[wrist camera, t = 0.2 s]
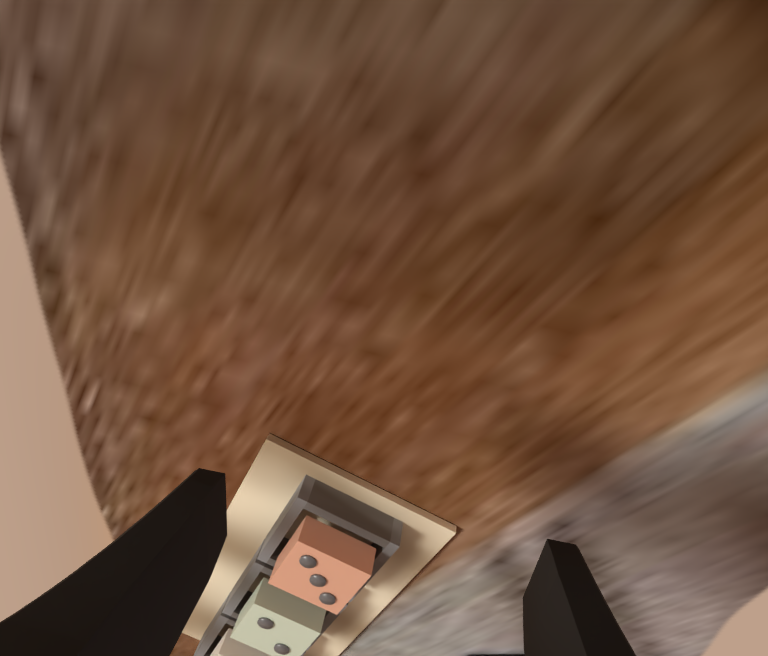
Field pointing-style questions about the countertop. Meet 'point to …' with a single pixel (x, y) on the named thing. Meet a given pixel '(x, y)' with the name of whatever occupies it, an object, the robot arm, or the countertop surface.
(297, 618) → the key two
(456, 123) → the countertop surface
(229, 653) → the key one
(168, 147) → the countertop surface
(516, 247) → the countertop surface
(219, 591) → the key board
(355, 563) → the key three
